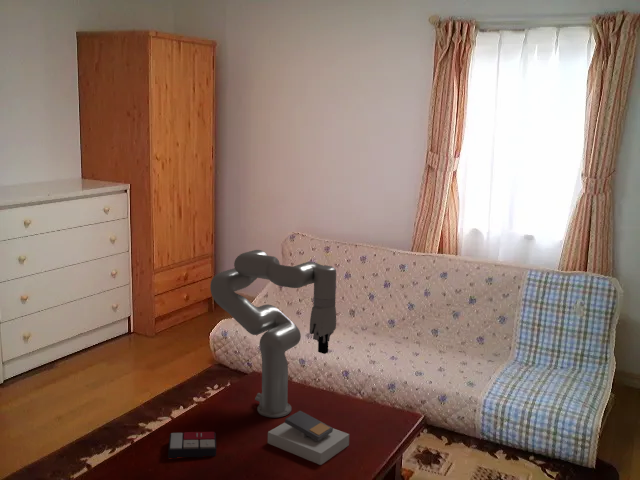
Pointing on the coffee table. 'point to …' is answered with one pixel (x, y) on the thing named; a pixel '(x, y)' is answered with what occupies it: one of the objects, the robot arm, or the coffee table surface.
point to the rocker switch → (309, 425)
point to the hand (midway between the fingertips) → (322, 352)
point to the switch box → (308, 443)
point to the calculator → (192, 444)
